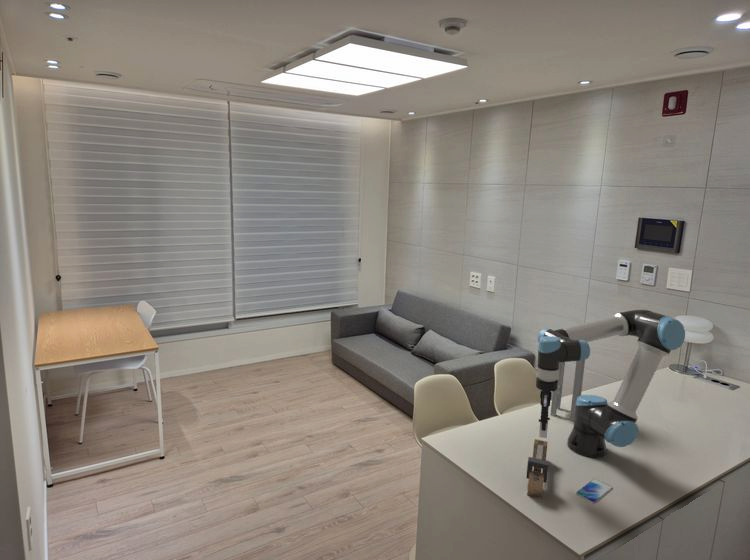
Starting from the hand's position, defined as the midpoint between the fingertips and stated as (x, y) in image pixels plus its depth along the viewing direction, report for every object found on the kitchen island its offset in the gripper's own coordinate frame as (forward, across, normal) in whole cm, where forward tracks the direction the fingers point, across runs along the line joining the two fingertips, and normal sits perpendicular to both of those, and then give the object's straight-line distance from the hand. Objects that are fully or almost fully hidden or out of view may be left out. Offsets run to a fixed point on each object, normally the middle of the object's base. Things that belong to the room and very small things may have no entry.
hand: (543, 436), depth 181 cm
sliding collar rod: (+16, +2, -1) cm, 16 cm away
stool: (+17, -60, +8) cm, 63 cm away
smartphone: (+17, +3, +19) cm, 25 cm away
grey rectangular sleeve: (+12, +10, -1) cm, 15 cm away
